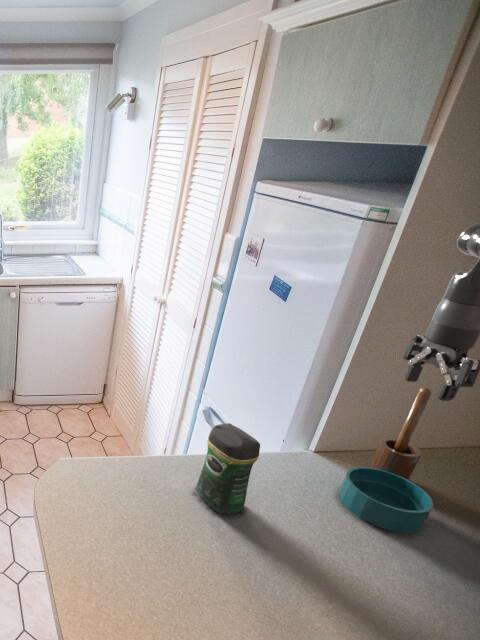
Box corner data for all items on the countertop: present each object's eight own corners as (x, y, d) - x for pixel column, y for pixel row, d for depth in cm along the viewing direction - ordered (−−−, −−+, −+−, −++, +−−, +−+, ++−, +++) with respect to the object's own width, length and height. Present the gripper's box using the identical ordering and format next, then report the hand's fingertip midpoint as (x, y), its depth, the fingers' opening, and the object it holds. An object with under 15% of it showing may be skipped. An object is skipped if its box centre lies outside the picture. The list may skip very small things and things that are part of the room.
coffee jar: (249, 512, 100) (271, 442, 92) (219, 519, 98) (239, 448, 90) (217, 483, 108) (234, 417, 101) (188, 489, 106) (204, 422, 99)
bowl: (386, 488, 106) (396, 467, 104) (440, 536, 93) (453, 514, 91) (323, 486, 107) (331, 465, 105) (368, 533, 94) (378, 511, 92)
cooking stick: (388, 472, 110) (427, 386, 101) (395, 478, 108) (435, 390, 99) (380, 472, 110) (418, 385, 101) (386, 477, 108) (426, 390, 99)
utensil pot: (390, 468, 113) (404, 438, 109) (414, 488, 106) (430, 457, 102) (360, 467, 113) (372, 437, 109) (382, 487, 106) (396, 456, 103)
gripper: (512, 335, 87) (475, 407, 93) (445, 310, 100) (417, 375, 106) (471, 334, 87) (437, 406, 94) (409, 309, 100) (383, 374, 107)
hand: (426, 390), depth 100 cm, fingers open, 8 cm apart
